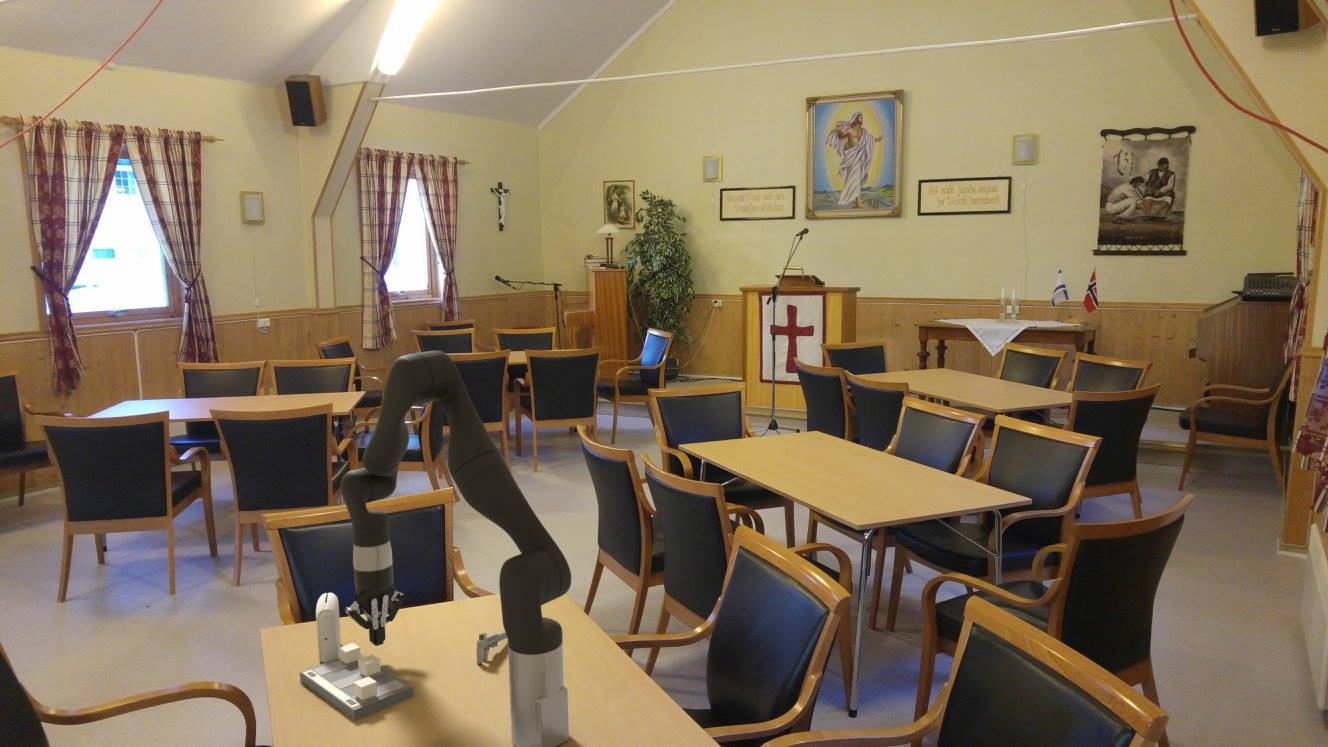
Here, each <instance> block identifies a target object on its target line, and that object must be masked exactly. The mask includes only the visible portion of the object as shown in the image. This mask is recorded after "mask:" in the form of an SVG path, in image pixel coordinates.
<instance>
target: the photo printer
mask: <svg viewBox="0 0 1328 747" xmlns="http://www.w3.org/2000/svg"><path fill="white" fill-rule="evenodd" d="M339 605H340V604H339V599H338V596H337V595H336V594H335V593H333V592H328V593H327V592H324V593H323V594H321V595H320V596H319V598H318V599H317V602H316V608H315V620H316V621H315V623H316V631H317V632H316V636H317V648H318V649H317V652H318V659H319V660H318V661H319V662H322V664H323V663H326V662H329V661H332V660H335V659H338V658H339V647H342V645H341V642H342V639H341V638H342V636H341V620H340V619H341V618H340V609H339V607H340V606H339Z"/></svg>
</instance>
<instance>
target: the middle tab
mask: <svg viewBox="0 0 1328 747" xmlns="http://www.w3.org/2000/svg"><path fill="white" fill-rule="evenodd" d="M358 666H359V672H360V673H361V674H363V675H364V676H366V677H367V676H370V675H373V674H375V673H378V672H381V667H382V666H381V658H379V657H377V656H375V655H374V654H370V655H368V656H365V657H364V658H362V659H359V660H358ZM380 666H381V667H380Z"/></svg>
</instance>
